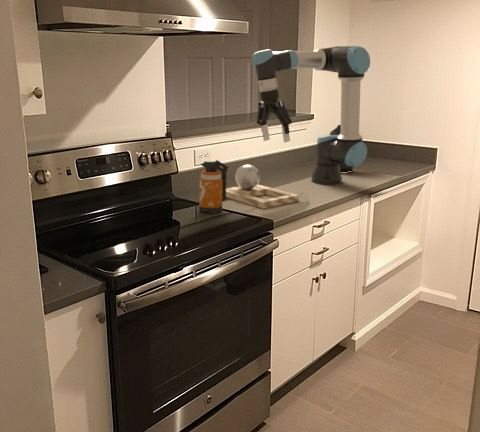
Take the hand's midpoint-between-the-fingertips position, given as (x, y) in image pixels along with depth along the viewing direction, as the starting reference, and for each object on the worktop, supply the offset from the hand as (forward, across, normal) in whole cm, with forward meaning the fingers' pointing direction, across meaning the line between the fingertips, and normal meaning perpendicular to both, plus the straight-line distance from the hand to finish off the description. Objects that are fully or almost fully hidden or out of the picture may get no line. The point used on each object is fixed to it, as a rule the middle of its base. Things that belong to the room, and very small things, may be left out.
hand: (276, 141), depth 228 cm
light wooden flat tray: (+24, -9, -8) cm, 27 cm away
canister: (+19, 0, -36) cm, 41 cm away
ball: (+15, -15, -8) cm, 23 cm away
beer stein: (+36, -37, +68) cm, 85 cm away
